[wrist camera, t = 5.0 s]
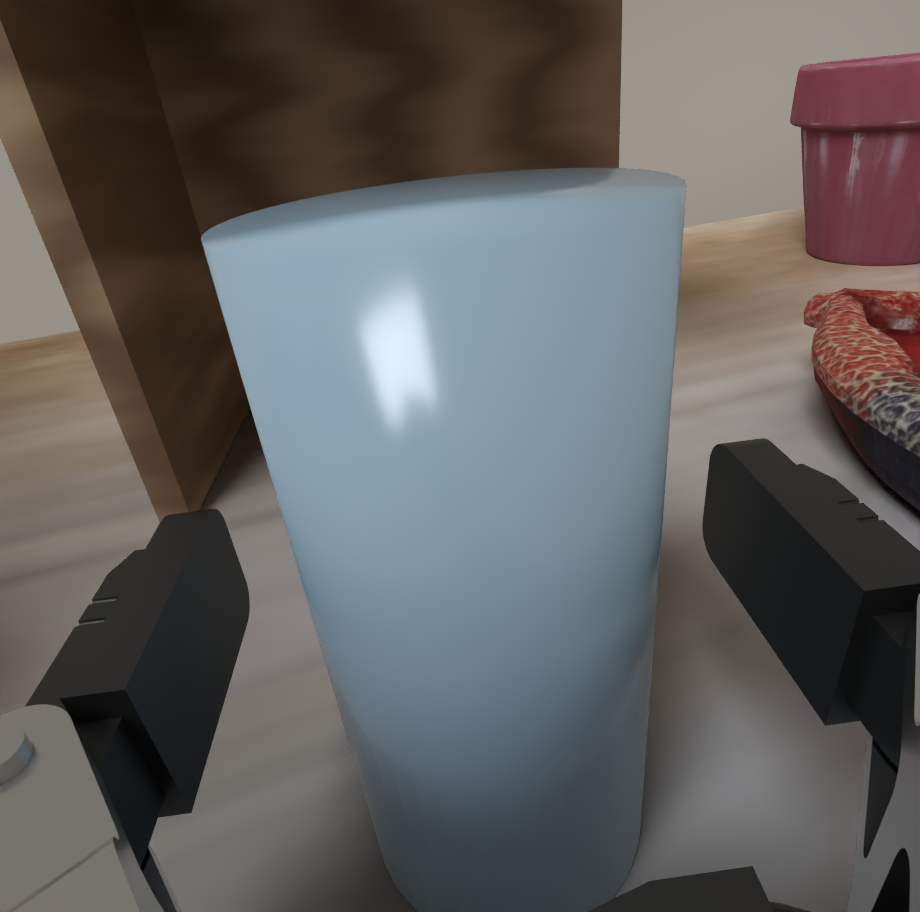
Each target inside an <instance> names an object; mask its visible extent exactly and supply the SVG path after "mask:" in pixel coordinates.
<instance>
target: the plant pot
mask: <svg viewBox="0 0 920 912" xmlns="http://www.w3.org/2000/svg"><path fill="white" fill-rule="evenodd" d="M790 122H791V124H792V125H794V126H798V127H801V141H802V169H803V192H804V210H805V228H806V249H807V252H808V253H809V254H811V255H812V256H814V257H816V258H819V259H822V260H826V261H831V262H837V263H844V264H854V265H876V266H886V265H906V264H915V263H920V53H913V54H902V55H893V56H882V57H872V58H863V59H862V58H861V59H852V60H842V61H834V62H825V63H817V64H809V65H804V66H802V67H801V68H800V69H799V72H798V77H797V82H796V87H795V93H794V99H793V105H792V112H791V119H790Z"/></svg>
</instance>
